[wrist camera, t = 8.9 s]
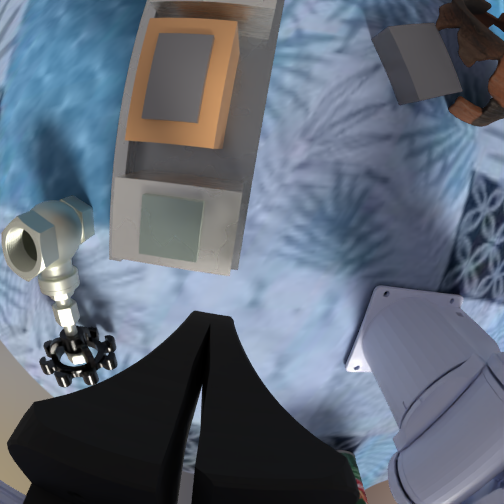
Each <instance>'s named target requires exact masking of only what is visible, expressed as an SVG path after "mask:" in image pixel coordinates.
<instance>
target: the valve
mask: <svg viewBox="0 0 504 504" xmlns="http://www.w3.org/2000/svg"><path fill="white" fill-rule="evenodd" d="M93 235H95V231H94V219H93V209H92V207H91V206H89V205H88V204H86V203H84V202H83V201H81V200H80V199H78V198H77V197H75V196H73V195H71V196H69V197H66V198H63V199H61V200H60V201H57V200H49V201H44V202H42V203H39V204H37V205H36V206H35V207H33V208H32V209H31V210H30V211H28V212H26V213H23V214H21V215H19V216H17V217H16V218H15V219H13V220H12V221H11V222H10V223H9V224H8V226H7V227H6V228H5V229H4V230H3V232H2V248H3V253H4V257H5V260H6V262H7V265H8V266H9V267H10V268H11V270H12V271H14V272H15V273H16V274H17V275H18V276H20V277H21V278H23V279H24V280H26V281H28V282H29V281H30V280H32V279H33V278H34V277H36V276H37V275H38V274H39V275H38V281H39V286H40V290H41V292H42V293H43V294H45V295H48V296H50V297H51V298H52V299H53V300H55V301H56V302H55V303H54V304H53V305H52V308H53V312H54V316H55V319H56V322H57V323H58V324H59V325H60V326H63V327H64V329H63V330H62V331H61V332H60V337H59V338H56V339H54V340H53V341H52V340H50V341H47V342H45V343H44V349H45V352H46V354H47V356H48V357H50V358H52V359H51V360H49V361H46V358H45V357H42V358H41V359H40V361H39V363H40V365H41V368H42V370H43V372H44V373H45V374H47V375H50V374H53V373H54V375H55V377H56V380H57V382H58V384H59V386H61V387H68V386H69V385H71V383H72V379H73V378H74V377H83V379H84V382H85V383H86V384H87V385H95V384H96V383H98V381H99V378H98V374H97V370H98V369H99V368H102V367H104V368H105V369H107V370H113V369H115V368H116V367H117V360H116V356H115V353H114V351H115V350H116V344H115V339H114V337H113V336H111V335H107V336H105V340H106V341H104V342H100V341H99V336H98V332H97V329H96V328H93V327H89V328H87V327H83V326H76V322H77V321H78V320H79V318H80V315H79V311H78V307H77V302H76V301H75V300H73V299H72V298H70V297H71V296H72V295H73V294H74V290H75V289H76V288H77V287H78V286H79V284H80V280H79V275H78V269H77V268H76V267H75V266H73V265H72V260H71V259H72V257H73V256H74V254H75V253H76V251H77V250H78V248H79V245H80V244H82V243H83V242H85V241H86V240H87V239H89V238H90V237H92V236H93ZM88 346H89V347H92V348H95V349H96V350H97V351H98V353H97V355H96V357H95V358H94V357H93V355H92V353H91V351H90V350H89V348H88ZM64 353H66V354H67V356H68V359H69V360H70V361H71V362H72V363H74V364H80V363H84V362H86V363H87V364H85V365H82V366H76V367H72V366H67V365H64V364H62V363H61V362H60V358H61V356H62V355H63V354H64ZM106 353H109V354H108V356H107V355H106Z"/></svg>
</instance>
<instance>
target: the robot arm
mask: <svg viewBox="0 0 504 504" xmlns="http://www.w3.org/2000/svg"><path fill="white" fill-rule="evenodd" d="M386 291H388V292H387V294H385V295H384V292H386ZM450 300H451V301H450ZM462 302H463V297H462V296H461V295H455V294H447V293H439V292H430V291H422V290H414V289H406V288H398V287H390V286H382V285H380V286H377V287H376V288H375V289H374V291H373V294H372V297H371V300H370V303H369V305H368V308H367V311H366V314H365V317H364V319H363V322H362V325H361V327H360V330H359V333H358V335H357V338H356V340H355V343H354V345H353V348H352V350H351V353H350V355H349V357H348V360H347V362H346V365H345V368H346V371H348V372H372V373H373V375H374V377H375V379H376V381H377V383H378V385H379V387H380V389H381V391H382V393H383V395H384V397H385V399H386V402H387V404H388V406H389V408H390V410H391V412H392V414H393V416H394V418H395V421H396V423H397V425H398V427H399V429H400V431H399V432H398V433H397V435H396V436H395V437H394V438H393V441H394V443H395V446H396V448H397V450H398V452H396V453H395V454H394V455H393V456H392V458H391V459H390V461H389V465H388V480H389V487H390V490H391V493H392V495H393V497H394V499H395V501H396V502H397V504H504V352H500V349H499V347H498V345H497V343H496V342H495V341H494V340H493V339H492V338H491V337H490V336H489V335H488V334H487V333H486V332H485V331H484V330H483V329H482V328H481V327H480V326H479V325H478V324H477V323H476V322H475V321H474V320H472V319H471V318H470V317H469V316H468V315H467V314H466V313H465V312H464V311H463V310H462V309H460V307H461V305H462ZM355 366H357V367H355ZM201 387H202V404H201V431H200V437H199V444H198V451H197V458H196V464H195V473H194V483H193V493H192V503H191V504H356V503H357V502H358V500H359V497H360V492H359V489H358V485H357V481H356V478H355V475H354V473H353V470H352V468H351V466H350V464H349V462H348V459H347V457H345V456H344V455H342V454H341V453H339V452H337V451H336V450H334V449H333V448H331V447H330V446H328V445H327V444H325V443H324V442H322V441H321V440H319V439H318V438H316V437H315V436H314V435H313V434H311V433H310V432H309V431H308V430H306V429H305V428H304V427H303V426H302V425H300V424H299V423H298V422H297V421H296V420H295V419H294V418H293V417H292V416H291V415H290V414H289V413H288V412H287V411H286V410H285V409H284V408H283V407H282V406H281V405H280V404H279V402H278V401H277V400H276V399H275V398H274V397H273V395H272V394H271V393H270V392H269V390H268V389H267V388H266V386H265V385H264V384H263V382H262V381H261V379H260V378H259V376H258V375H257V373H256V371H255V370H254V368H253V366H252V365H251V363H250V361H249V359H248V357H247V355H246V353H245V351H244V349H243V347H242V345H241V342H240V340H239V337H238V335H237V332H236V329H235V325H234V321H233V319H232V318H231V317H230V316H223V315H217V314H211V313H205V312H200V311H193V312H192V313H191V314H190V315H189V316H188V318H187V319H186V320H185V321H184V322H183V323H182V324H181V325H180V326H179V328H178V329H177V330H176V331H175V332H173V333H172V334H171V335H170V336H169V337H168V338H167V339H166V340H165V341H164V342H163V343H162V344H160V345H159V346H158V347H157V348H155V349H154V350H153V351H152V352H150V353H149V354H148V355H147V356H145V357H144V358H142V359H141V360H140V361H138V362H137V363H135V364H133V365H132V366H130V367H129V368H127V369H125V370H124V371H122V372H120V373H118V374H116V375H114V376H113V377H111V378H109V379H107V380H105V381H102V382H100V383H98V384H95V385H93V386H90V387H88V388H85V389H82V390H79V391H76V392H73V393H70V394H67V395H63V396H59V397H55V398H51V399H46V400H42V401H37V402H34V403H33V404H32V406H31V407H30V408H29V409H28V411H27V412H26V413H25V415H24V416H23V418H22V419H21V421H20V422H19V424H18V426H17V427H16V429H15V430H14V432H13V434H12V435H11V437H10V439H9V440H8V442H7V446H8V450H9V453H10V455H11V456H12V458H13V459H14V461H15V462H16V464H17V465H18V466H19V468H20V469H21V470H22V471H23V473H24V474H25V475H26V476H27V478H28V479H29V480H30V481H31V483H32V484H31V486H30V488H29V490H28V493H27V495H24V494H22V493H20V492H19V491H17V490H15V489H14V488H12V487H10V486H9V485H7V484H5V483H4V482H2V481H1V480H0V504H177V502H178V495H179V488H180V480H181V474H182V467H183V460H184V454H185V448H186V442H187V438H188V434H189V430H190V426H191V423H192V419H193V416H194V412H195V409H196V405H197V402H198V398H199V394H200V391H201Z"/></svg>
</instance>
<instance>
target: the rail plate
mask: <svg viewBox="0 0 504 504" xmlns="http://www.w3.org/2000/svg"><path fill="white" fill-rule="evenodd" d="M283 5H284V0H147V2H146V5H145V8H144V11H143V15H142V18H141V21H140V25H139V29H138V32H137V36H136V40H135V44H134V47H133V52H132V56H131V60H130V64H129V69H128V74H127V78H126V83H125V88H124V94H123V99H122V105H121V111H120V117H119V124H118V131H117V139H116V147H115V156H114V166H113V177H112V190H111V207H110V241H109V259H110V260H116V261H122V260H123V259H125V260H131V261H137V262H142V263H148V264H155V265H161V266H167V267H173V268H179V269H186V270H192V271H198V272H205V273H212V274H218V275H225V276H230V270H231V269H234V270H238V265H239V258H240V252H241V246H242V240H243V234H244V228H245V221H246V215H247V209H248V203H249V197H250V191H251V185H252V179H253V173H254V168H255V162H256V156H257V150H258V144H259V138H260V133H261V127H262V121H263V115H264V110H265V104H266V98H267V93H268V87H269V81H270V76H271V70H272V65H273V59H274V54H275V48H276V43H277V37H278V32H279V27H280V21H281V16H282V11H283ZM150 18H202V19H217V20H229V21H238V36H239V51H240V55H239V60H238V65H237V70H236V75H235V80H234V85H233V91H232V96H231V102H230V107H229V113H228V119H227V125H226V130H225V136H224V143H223V149H211V148H203V147H194V146H186V145H176V144H166V143H154V142H141V141H126V140H125V135H126V127H127V121H128V114H129V108H130V102H131V97H132V91H133V86H134V81H135V76H136V71H137V67H138V62H139V58H140V54H141V50H142V46H143V42H144V38H145V34H146V30H147V27H148V23H149V20H150Z"/></svg>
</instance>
